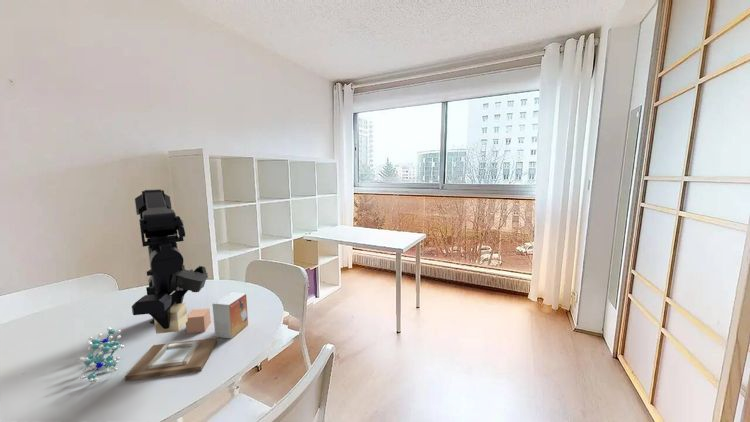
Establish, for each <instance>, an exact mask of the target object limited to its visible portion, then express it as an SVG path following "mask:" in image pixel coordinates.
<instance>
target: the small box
mask: <svg viewBox="0 0 750 422" xmlns="http://www.w3.org/2000/svg"><path fill="white" fill-rule="evenodd" d="M212 314H213V325H214V336H215V337H214V338H223V339H233V338H234V337H235V336H236V335H238V334H239V333H240V332H242V330H243V329H245V328H247V326H248V325H249V316H248V303H247V293H242V292H241V293H240V292H229V293H228V294H226V295H225V296H223V297H221V298H220V299H217V301H215V302H213V303H212Z"/></svg>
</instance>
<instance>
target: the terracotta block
mask: <svg viewBox="0 0 750 422" xmlns="http://www.w3.org/2000/svg"><path fill="white" fill-rule="evenodd" d="M187 319H188V321H187V322H186V323H185V329H186V334H193V333H194V332H195V333H203V331H204V332H206V331H207V329H208V328H209V326H210V325H211V322H212V321H211V310H210V308H208V307H207V308H200V309H191V311H190V312H189V313H187ZM195 333H194V334H195Z"/></svg>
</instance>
